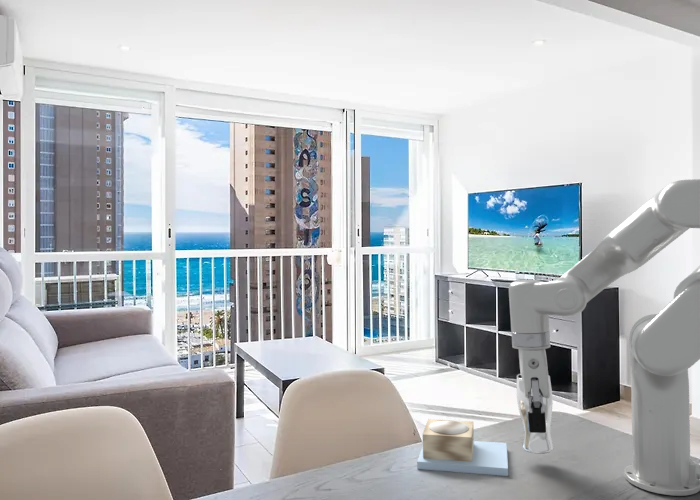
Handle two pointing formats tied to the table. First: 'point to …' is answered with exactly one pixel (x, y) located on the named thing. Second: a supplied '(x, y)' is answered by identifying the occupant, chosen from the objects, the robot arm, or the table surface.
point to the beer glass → (531, 441)
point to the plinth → (448, 440)
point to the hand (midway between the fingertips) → (536, 425)
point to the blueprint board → (473, 460)
